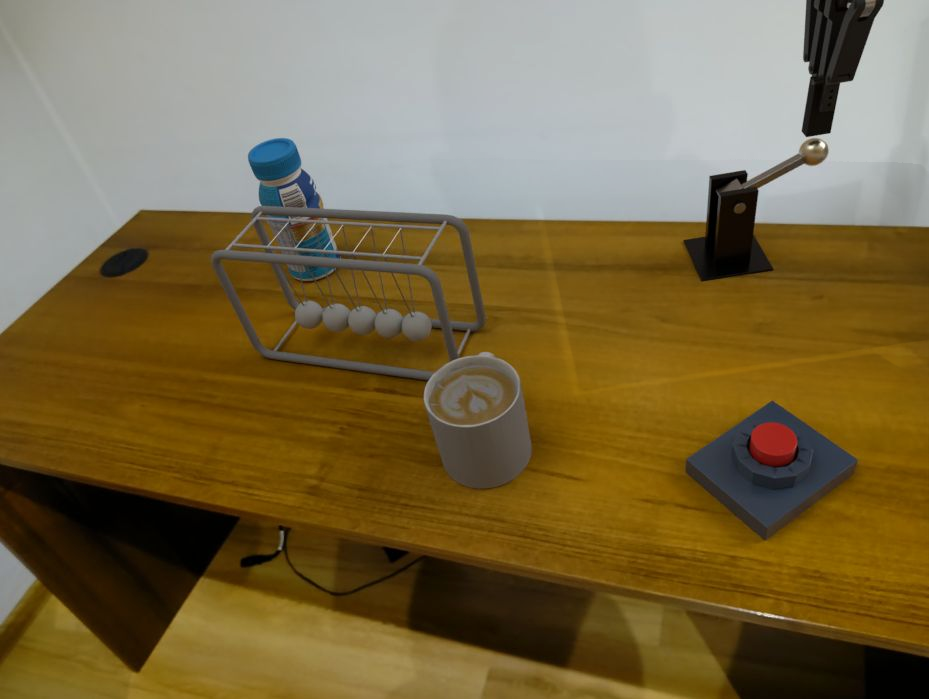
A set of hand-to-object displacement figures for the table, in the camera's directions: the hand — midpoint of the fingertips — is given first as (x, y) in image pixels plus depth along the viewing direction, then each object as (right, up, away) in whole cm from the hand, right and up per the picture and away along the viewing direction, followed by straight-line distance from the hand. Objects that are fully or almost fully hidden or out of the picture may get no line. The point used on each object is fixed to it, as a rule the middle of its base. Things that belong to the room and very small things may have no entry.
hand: (815, 132), depth 83 cm
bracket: (-6, -13, +12) cm, 19 cm away
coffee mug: (-38, -35, -3) cm, 52 cm away
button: (-11, -35, -15) cm, 39 cm away
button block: (-11, -37, -12) cm, 41 cm away
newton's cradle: (-53, -25, +12) cm, 60 cm away
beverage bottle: (-64, -12, +28) cm, 71 cm away
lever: (-3, -5, +4) cm, 7 cm away
